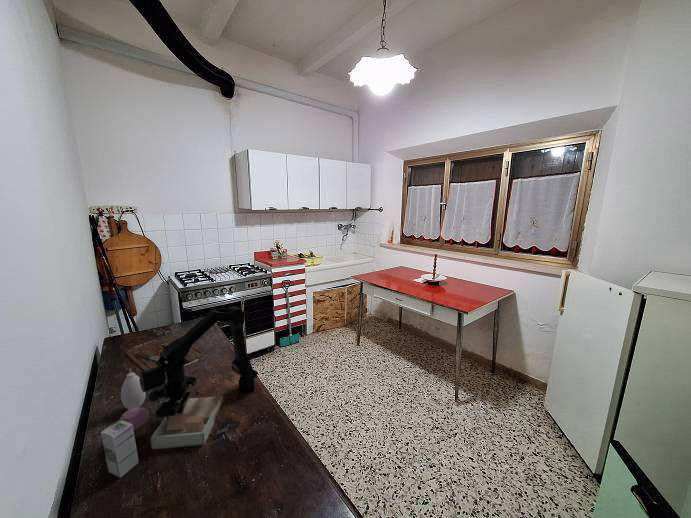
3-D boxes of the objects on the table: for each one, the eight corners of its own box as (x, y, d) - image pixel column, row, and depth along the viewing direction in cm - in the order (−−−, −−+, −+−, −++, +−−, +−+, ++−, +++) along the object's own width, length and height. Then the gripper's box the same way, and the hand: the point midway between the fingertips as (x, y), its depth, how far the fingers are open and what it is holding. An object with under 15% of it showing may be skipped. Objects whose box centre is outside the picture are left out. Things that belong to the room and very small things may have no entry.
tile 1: (187, 413, 102) (184, 413, 100) (184, 429, 99) (180, 429, 97) (173, 415, 101) (169, 414, 99) (169, 430, 99) (165, 430, 96)
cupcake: (127, 450, 91) (123, 424, 90) (115, 439, 95) (111, 414, 94) (155, 431, 99) (152, 407, 97) (143, 422, 103) (140, 399, 101)
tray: (214, 423, 103) (213, 413, 102) (204, 444, 93) (203, 433, 93) (166, 427, 101) (165, 417, 100) (151, 449, 91) (150, 438, 91)
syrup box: (139, 462, 87) (134, 422, 84) (119, 479, 81) (112, 437, 79) (127, 457, 89) (121, 418, 86) (106, 473, 83) (99, 432, 81)
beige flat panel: (223, 401, 115) (222, 396, 114) (213, 422, 103) (212, 416, 103) (183, 404, 113) (182, 399, 113) (168, 426, 101) (167, 420, 101)
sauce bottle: (145, 398, 116) (140, 360, 113) (148, 408, 111) (143, 368, 108) (122, 407, 111) (116, 367, 108) (124, 418, 105) (118, 376, 102)
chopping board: (208, 357, 151) (208, 351, 151) (153, 380, 130) (152, 374, 129) (173, 335, 177) (173, 331, 177) (122, 352, 156) (122, 347, 155)
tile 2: (202, 416, 99) (198, 422, 96) (204, 427, 100) (200, 434, 97) (189, 416, 99) (184, 422, 96) (190, 428, 100) (185, 434, 97)
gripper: (166, 364, 108) (170, 399, 110) (136, 396, 89) (142, 437, 92) (195, 363, 109) (199, 397, 112) (172, 394, 91) (176, 434, 94)
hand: (180, 415), depth 102 cm, fingers closed
